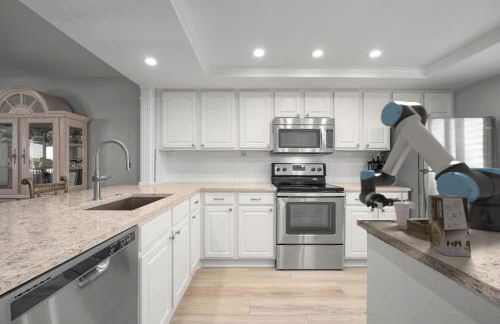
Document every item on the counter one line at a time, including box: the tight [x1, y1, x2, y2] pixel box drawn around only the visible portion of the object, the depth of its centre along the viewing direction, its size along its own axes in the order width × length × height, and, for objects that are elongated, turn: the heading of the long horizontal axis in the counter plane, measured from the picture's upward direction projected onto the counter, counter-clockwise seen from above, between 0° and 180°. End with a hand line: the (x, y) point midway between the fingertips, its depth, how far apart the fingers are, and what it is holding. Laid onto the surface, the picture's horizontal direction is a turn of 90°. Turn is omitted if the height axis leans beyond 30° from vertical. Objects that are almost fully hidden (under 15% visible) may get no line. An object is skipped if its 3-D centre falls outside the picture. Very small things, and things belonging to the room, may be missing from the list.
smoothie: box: [393, 192, 411, 227], centre depth 108 cm, size 6×6×14 cm
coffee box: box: [426, 194, 472, 257], centre depth 74 cm, size 9×6×16 cm
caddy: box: [399, 218, 430, 242], centre depth 92 cm, size 14×16×4 cm
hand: (397, 206), depth 110 cm, fingers open, 13 cm apart
